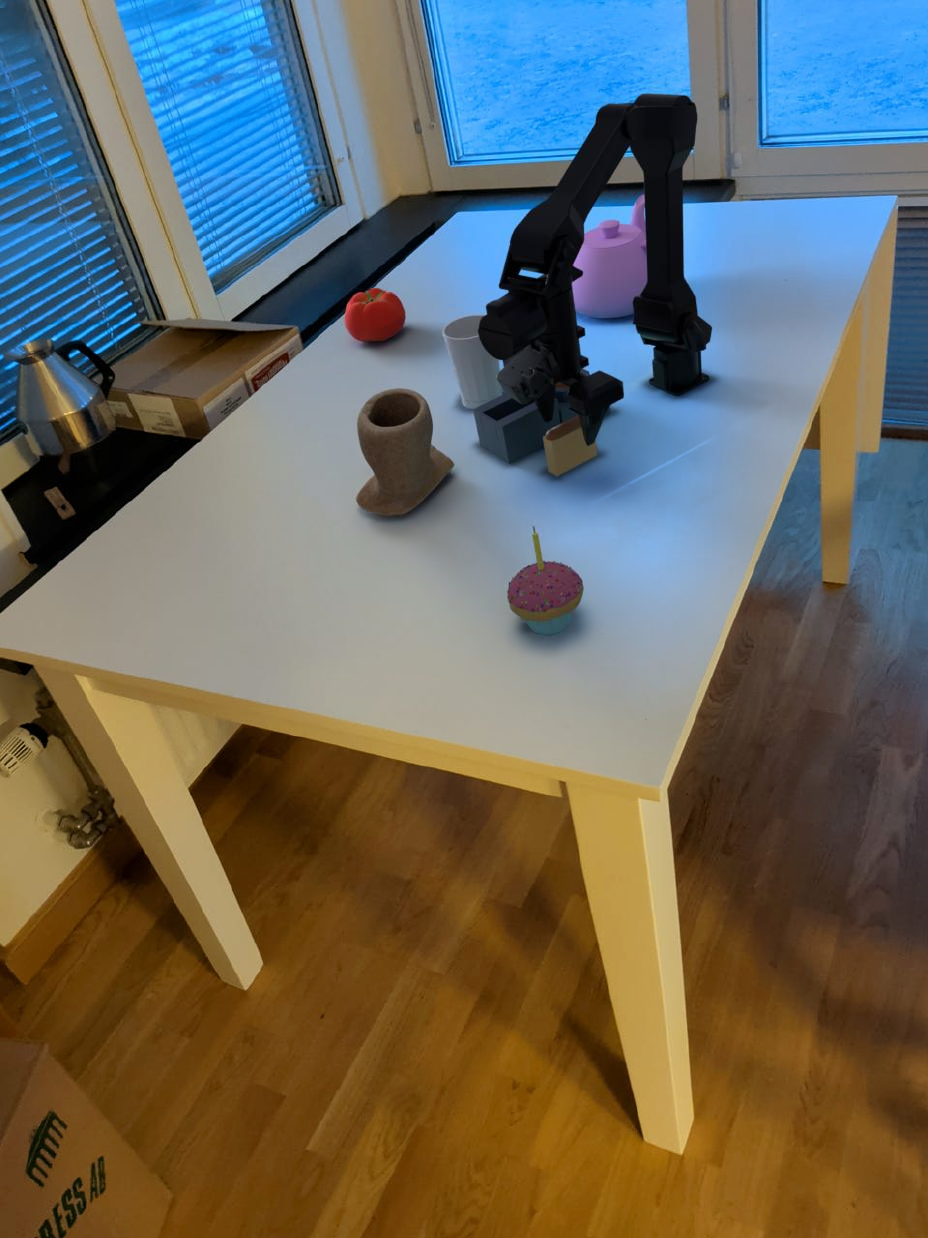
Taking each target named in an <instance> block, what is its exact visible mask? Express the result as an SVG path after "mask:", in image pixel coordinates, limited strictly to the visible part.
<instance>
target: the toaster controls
mask: <svg viewBox="0 0 928 1238" xmlns="http://www.w3.org/2000/svg"><path fill="white" fill-rule="evenodd" d="M581 373H583V374H585V375H587V376H589V375H591V373H590V371H589V370H587V369H584V368H582V369H581ZM569 389H570V387H556V389H555V398H556V399H557V401H558V408H559V415H560V422H561V423H563V422H565V421H567V420H569V419H571V418H573V417H575V416H577V415H578V414H576V413H574V412H573V411H571V410H569V409H568V408H570V407H571V405H570V403H569V402H568V397H567V392H568V391H569ZM610 413H611V406H610V407H609V409H608V411H607V413H606V415H605V416H607V415H609V414H610Z"/></svg>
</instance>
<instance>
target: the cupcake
mask: <svg viewBox="0 0 928 1238" xmlns="http://www.w3.org/2000/svg"><path fill="white" fill-rule="evenodd" d="M532 530H533V532H532V533H531V537H532V542H533V548H534V554H535V559H536V562H535V563H531V564H527V565H526V566H525V567H522V568H521V569H520V570H519V571H518V572H517V573H516V574H515V576H512V578H511V581H509V582H508V588H507V591H506V595H507V596H506V598H507V602H508V605H509V608H510V611H511V612H512V613H514V614H515V615H516V616H518V617H519V618H520V619H521V620H523V621H525V623H526V624H527V626H528V627H529V629H530V630H531V631H532V632H533V633H536V634H538V635H543V636H551V635H556V634H558V633H560V632H562V631H564V629H566V628H567V627H568V626H569V624H570V621H571V617H572V612H573V611H574V610H576V609H577V608H578V606H579V605H580V603H581V602H582V598H583V594H584V583H583V582H584V581H583V579H582V577H580V574H579V573H577V572H576V570H575V569H573V568H572V567H571V566H569V565H567V564H563V563H562V562H556V561H555V560H553V561H550V560H549V561H548V560H547V561H546V560H544V559H543V555H542V549H541V543H540V537H539V532H537V531H536V526H535V525H532Z"/></svg>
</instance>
